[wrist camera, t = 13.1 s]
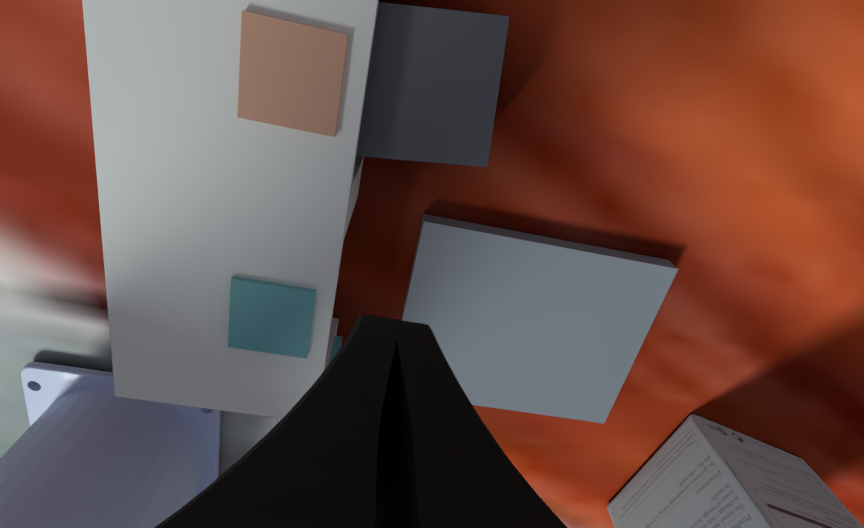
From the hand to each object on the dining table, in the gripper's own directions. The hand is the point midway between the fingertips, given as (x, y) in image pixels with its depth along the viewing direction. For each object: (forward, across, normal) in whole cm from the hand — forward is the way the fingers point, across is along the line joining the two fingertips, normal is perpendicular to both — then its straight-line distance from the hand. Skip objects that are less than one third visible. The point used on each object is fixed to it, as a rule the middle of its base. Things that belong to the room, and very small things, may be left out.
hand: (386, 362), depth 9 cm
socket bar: (+10, +5, 0) cm, 11 cm away
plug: (+10, +2, -4) cm, 11 cm away
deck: (+10, -6, +4) cm, 12 cm away
